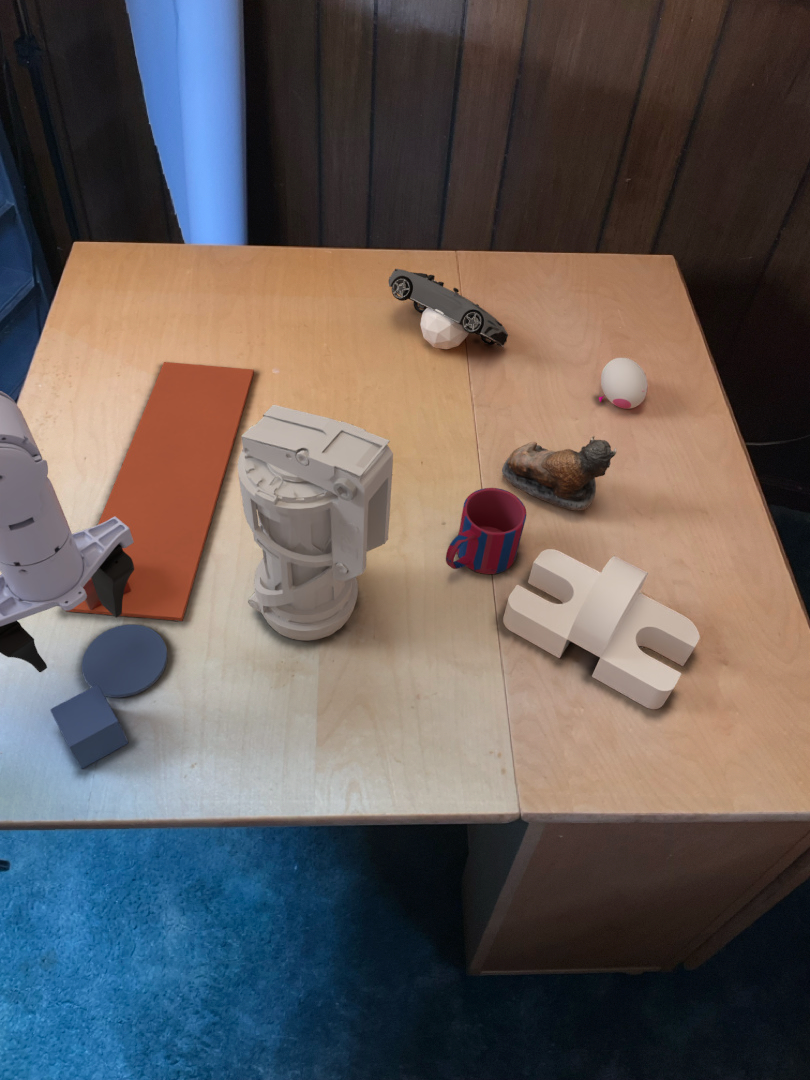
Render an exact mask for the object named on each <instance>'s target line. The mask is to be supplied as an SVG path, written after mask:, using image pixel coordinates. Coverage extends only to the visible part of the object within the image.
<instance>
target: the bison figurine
mask: <svg viewBox="0 0 810 1080" xmlns="http://www.w3.org/2000/svg"><path fill="white" fill-rule="evenodd" d="M611 447H612V446H611V444H610V443H609V441H607V440H606V439H595V435H593V436H592V437H590V439H589V442H588V444H587V443H586V445H583V446H581V449H580V451H579V452H578V451H577V450H576V451H575V450H573V449H571V448H567V449H562V450H557V451H554V450H548V449H547V448H544V447H542V446H541V445H539V444H538V443H537V442H536V441H531V442H529V443H525V444H524V445H522V446H520V447H518V448H516V449H515V450H513V451H512V452H511V453H510V455H509V457H508V458H507V459H506V460H505V462H503V465H502V469H501V473H502V476H503V477H504V478H505V479H506V480H507V481H508V482H509V483H510V484H511V485H512V486H514V487H515V488H517V489H518V490H521V491H523V492H525V493H527V494H528V495H531V496H533V497H534V498H537V499H539V500H542V501H545V502H547V503H549V504H552V505H554V506H557V507H561V508H564V509H567V510H571V511H582V510H585V509H587V508H588V507H589V506H590V505H591V504H592V503H593V501H594V499H595V497H596V493H597V484H596V482H597V481H596V478H599V477H603V476H605V475H606V472H607V470H608V469H609V468H610V466H611V460H612V458H614V457H615V455H617V451H618V450H617V447H614V449H613V450H612V448H611Z"/></svg>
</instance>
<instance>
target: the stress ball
mask: <svg viewBox="0 0 810 1080" xmlns="http://www.w3.org/2000/svg"><path fill="white" fill-rule="evenodd" d="M648 383H649V382H648V378H647V376H646V373H645V371H644V369H643V368H642V367H641V366H640V365H639V363H637V362H636V361H635V360H633V359H631V358H628V357H614V358H613V359H611V360H610V361H608V362H607V363H606V364H605V366H604V367H603V369H602V371H601V375H600V386H601V389H602V392H603V394H604V395H602V396H599V397H598V401H599V402H600V403H601V402H602V400H603V399H604V397H605V398H606V399H607V400H608V401H609V402H610V404H612V405H614V406H616V407H617V408H620V409H627V410H628V409H629V410H630V409H634V408H636V407H638V406H639V405H641V404H642V403H643V402H644V400H645V398H647V394H648V388H649V384H648Z"/></svg>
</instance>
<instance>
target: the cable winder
mask: <svg viewBox="0 0 810 1080" xmlns="http://www.w3.org/2000/svg"><path fill="white" fill-rule="evenodd" d="M648 575H649V572H647V571H646V570H644V569H641V568H640V567H638V566H636V565H634V564H632V563H630V562H628V561H626V560H624V559H622V558H620V557H618V556H616V555H612V556H611V558H610V559H609V560H608V561H607V563H606V564H605V565H604V567H603V569H602V570H601V571H598V570H597V569H595V568H593V567H590V565H589V566H588V565H587V564H585V563H583V562H581V561H580V560H577V559H576V558H573V557H571V556H569V555H567V554H566V553H563V552H562V551H560V550H557V549H554V548H547V549H544V550H542V551H541V552H539V554H538V556H536V558H535V560H534V561H533V562H532V567H531V569H530V573H529V577H528V580H527V584H529V585H531V586H533V587H535V588H536V589H538V590H540V591H542V592H544V593H545V594H548V595H549V596H552V597H553V598H555V599H557V600H559V601H560V602H561V603H555V602H551V601H548V600H547V599H545V598H543V597H541V596H539V595H537V594H536V593H534V592H532V591H530V590H529V589H526V588H525V587H523V586H521V585H519V584H516V585H515V587H514V588H513V590H512V591H511V593H510V594H509V595H508V598H507V603H506V606H505V608H504V609H505V610H504V613H503V617H502V623H503V625H504V627H505V628H506V629H507V630H509V632H512V633H513V634H515V635H517V636H519V637H520V638H522V639H524V640H526V641H528V643H529V642H530V643H531V644H533V645H535V646H537V647H539V649H542V650H544V651H545V652H547V653H549V654H551V655H553V656H554V657H556V658H558V659H560V658H561V657H562V656H563V654H564V652H565V651H566V649H567V647H568V646H569V645H570V643H573V644H575V645H577V646H578V647H581V648H582V649H584V650H586V651H588V652H589V653H591V654H593V655H595V656H596V657H598V658H599V660H598V662H597V664H596V666H595V669H594V670H593V672H592V675H591V677H592V679H595V680H597V681H599V682H600V683H602V684H604V685H605V686H608V687H609V688H611V689H613V690H614V691H616V692H618V693H621V694H622V695H624V696H625V697H627V698H629V699H631V700H633V701H634V702H636V703H637V704H640V705H641V706H643V707H644V708H647V709H649V710H658V709H660V708H662V707H663V706H664V705H665V703H666V701H667V700H668V698H669V697H670V695H671V693H672V692H673V690H674V688H675V687H676V685H677V684H678V682H679V679H680V678H681V675H682V673H681V672H680V671H678V670H677V669H675V668H672V667H670V666H669V665H668V664H665V663H663V662H661V661H660V660H658V659H656V658H654V657H652V656H650V655H648V654H647V653H645V652H644V651H642V649H641V648H640V647H645V648H648V649H650V650H652V651H653V652H655V653H657V654H659V655H661V656H663V657H665V658H667V659H668V660H670V661H672V662H674V663H675V664H677V665H679V666H682V667H684V665H685V664H686V662H687V661H688V659H689V658H690V656H691V654H692V653H693V651H694V650H695V648H696V646H697V644H698V642H699V640H700V638H701V636H700V632H699V629H698V628H697V626H696V625H695V623H694V622H693V621H692V620H691V619H689V618H688V617H687V616H685V615H684V614H682V613H681V612H677V611H676V610H674V609H672V608H670V607H668V606H666V605H664V604H663V603H661V602H658V601H656V600H654V599H653V598H651V597H648V596H647V595H644V594H643V593H641V590H642V588H643V586H644V584H645V582H646V580H647V578H648Z"/></svg>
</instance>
